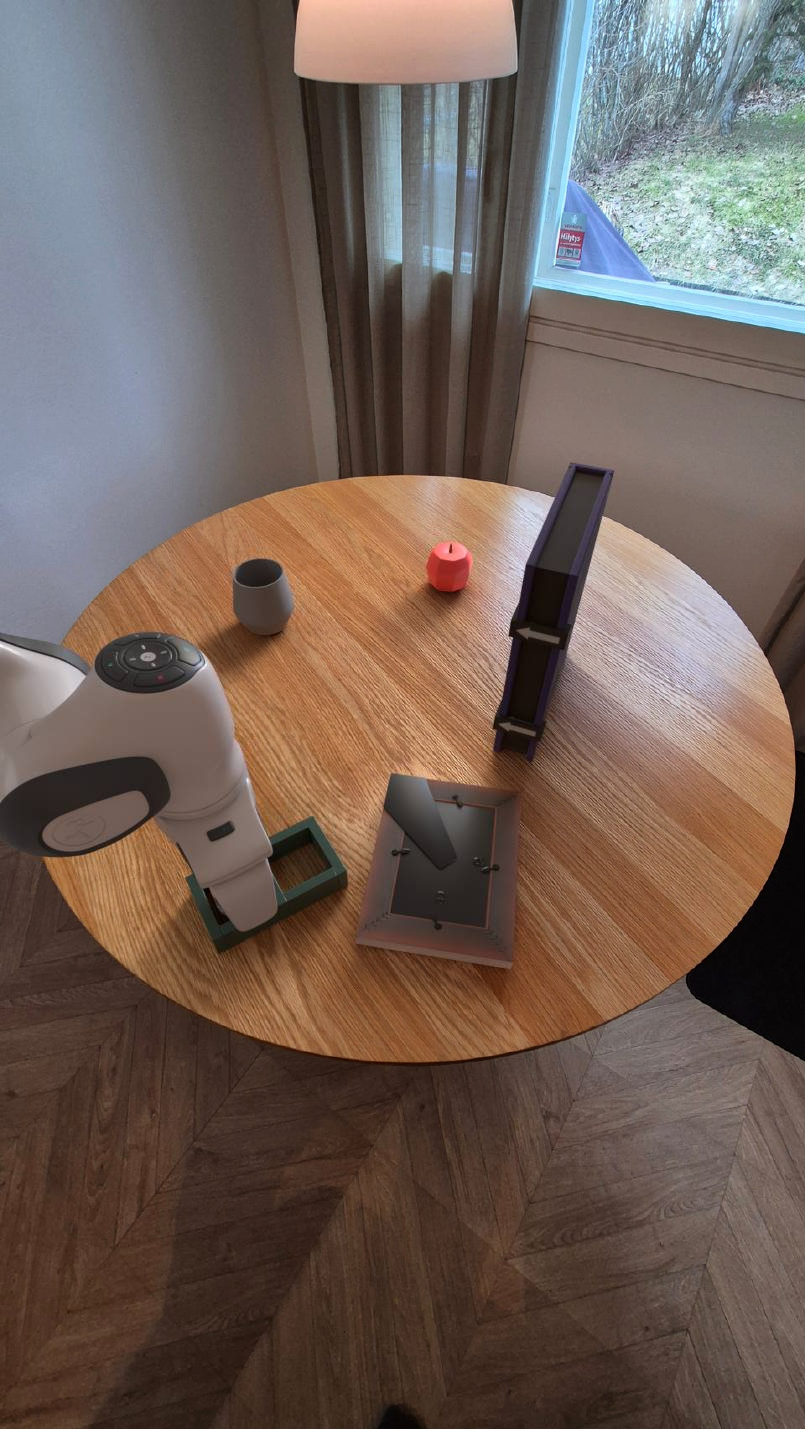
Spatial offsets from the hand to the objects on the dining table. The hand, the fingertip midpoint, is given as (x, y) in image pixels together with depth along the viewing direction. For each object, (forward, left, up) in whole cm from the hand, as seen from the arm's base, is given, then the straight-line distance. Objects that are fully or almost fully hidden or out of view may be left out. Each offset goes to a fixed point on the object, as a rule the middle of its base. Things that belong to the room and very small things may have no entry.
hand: (229, 867), depth 68 cm
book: (+48, +8, -8) cm, 49 cm away
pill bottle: (0, 0, -8) cm, 8 cm away
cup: (+22, +43, -8) cm, 49 cm away
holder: (+3, 0, -8) cm, 9 cm away
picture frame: (+22, -8, -8) cm, 25 cm away
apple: (+53, +37, -8) cm, 65 cm away
